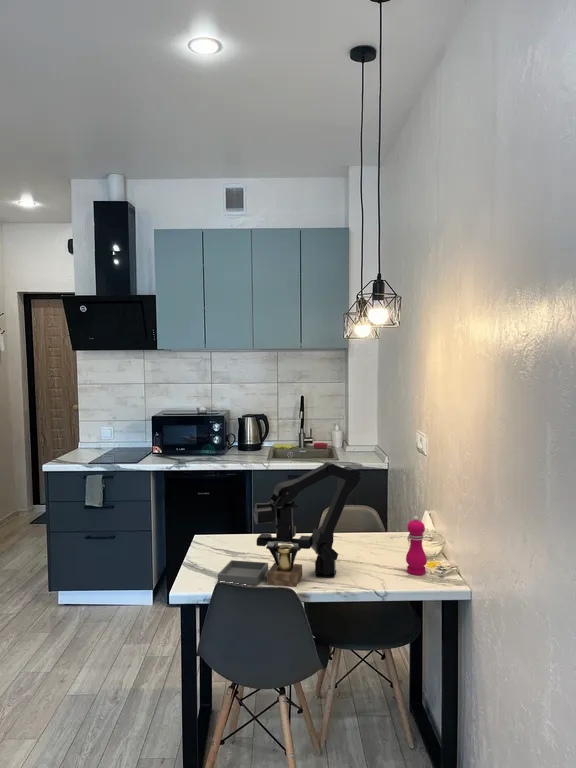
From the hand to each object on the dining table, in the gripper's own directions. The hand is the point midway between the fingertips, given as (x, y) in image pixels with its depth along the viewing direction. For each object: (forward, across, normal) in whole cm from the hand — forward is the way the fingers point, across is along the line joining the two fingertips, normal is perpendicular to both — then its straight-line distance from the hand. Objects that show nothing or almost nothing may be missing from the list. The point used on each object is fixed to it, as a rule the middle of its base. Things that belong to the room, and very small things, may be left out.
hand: (285, 565), depth 190 cm
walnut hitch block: (+5, 0, 0) cm, 5 cm away
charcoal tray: (+5, +15, 0) cm, 16 cm away
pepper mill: (+5, -44, -16) cm, 47 cm away
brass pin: (+5, 0, 0) cm, 5 cm away
